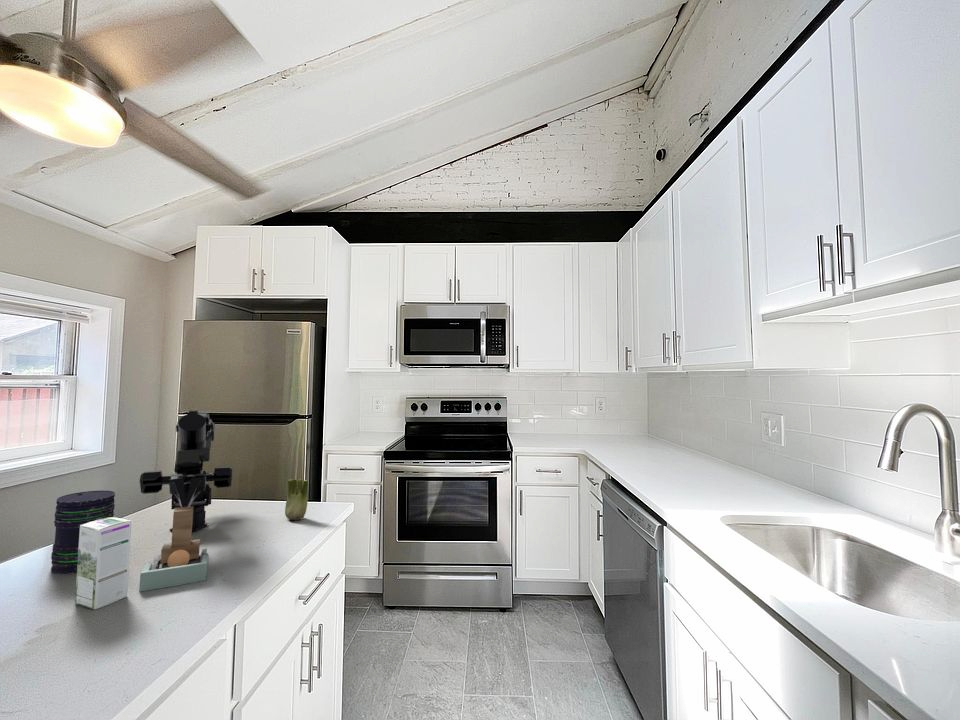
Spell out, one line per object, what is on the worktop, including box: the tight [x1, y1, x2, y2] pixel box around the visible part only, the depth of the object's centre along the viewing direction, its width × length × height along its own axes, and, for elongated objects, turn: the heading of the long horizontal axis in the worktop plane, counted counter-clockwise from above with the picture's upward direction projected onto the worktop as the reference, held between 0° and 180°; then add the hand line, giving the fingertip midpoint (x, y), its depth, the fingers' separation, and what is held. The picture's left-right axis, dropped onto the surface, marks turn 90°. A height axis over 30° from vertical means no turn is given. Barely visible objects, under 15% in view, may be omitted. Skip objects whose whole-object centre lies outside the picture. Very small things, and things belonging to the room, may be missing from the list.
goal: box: [138, 554, 209, 593], centre depth 90 cm, size 6×11×4 cm, turn 120°
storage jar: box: [50, 490, 116, 575], centre depth 96 cm, size 10×10×15 cm
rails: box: [151, 548, 208, 570], centre depth 98 cm, size 8×10×1 cm
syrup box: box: [74, 516, 132, 611], centre depth 81 cm, size 6×6×14 cm
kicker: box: [160, 506, 201, 565], centre depth 99 cm, size 4×7×11 cm, turn 120°
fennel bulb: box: [284, 478, 309, 521], centre depth 130 cm, size 6×5×12 cm
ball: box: [166, 550, 191, 568], centre depth 95 cm, size 4×4×4 cm
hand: (184, 510), depth 102 cm, fingers closed
